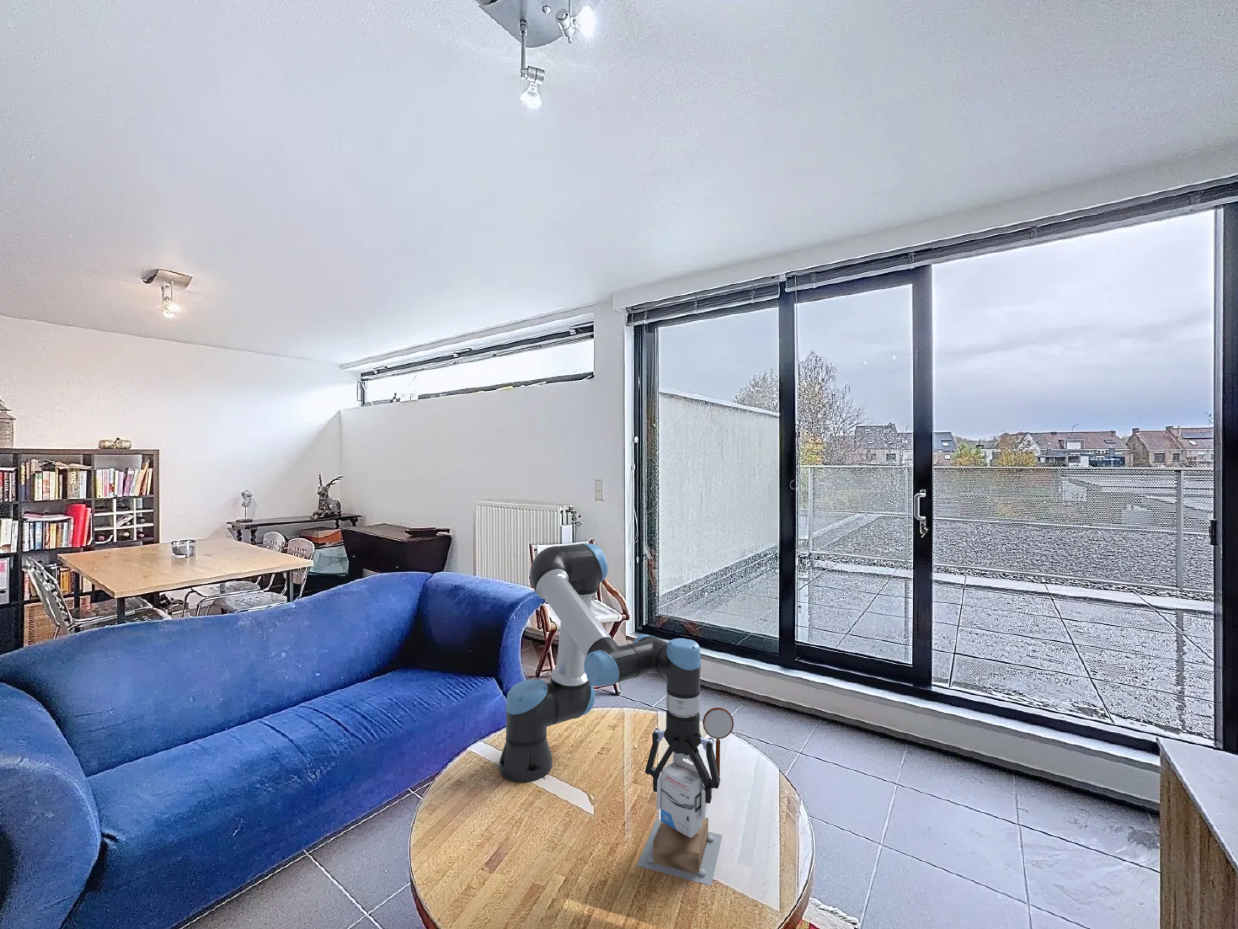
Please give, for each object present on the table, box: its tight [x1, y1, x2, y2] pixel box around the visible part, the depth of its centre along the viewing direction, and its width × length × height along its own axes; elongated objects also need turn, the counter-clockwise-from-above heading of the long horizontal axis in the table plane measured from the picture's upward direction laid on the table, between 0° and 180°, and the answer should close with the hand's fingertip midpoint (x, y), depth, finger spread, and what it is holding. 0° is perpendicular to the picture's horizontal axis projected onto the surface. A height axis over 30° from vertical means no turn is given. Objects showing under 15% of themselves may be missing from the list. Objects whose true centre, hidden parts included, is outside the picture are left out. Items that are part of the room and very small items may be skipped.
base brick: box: [653, 817, 709, 874], centre depth 119 cm, size 10×12×4 cm
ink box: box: [660, 751, 704, 838], centre depth 119 cm, size 9×5×15 cm, turn 49°
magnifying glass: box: [702, 707, 735, 777], centre depth 148 cm, size 9×2×20 cm, turn 87°
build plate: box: [636, 819, 723, 886], centre depth 119 cm, size 16×16×2 cm
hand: (681, 810), depth 119 cm, fingers closed on ink box, 9 cm apart
